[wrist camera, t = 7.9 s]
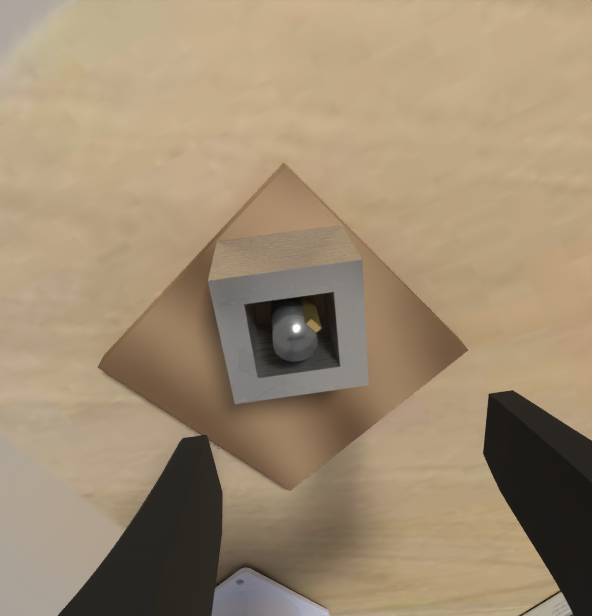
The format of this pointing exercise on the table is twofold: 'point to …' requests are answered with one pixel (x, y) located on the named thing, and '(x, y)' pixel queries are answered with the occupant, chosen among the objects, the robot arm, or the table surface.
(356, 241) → the copper plate
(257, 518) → the table surface
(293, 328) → the shaft stub
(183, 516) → the robot arm
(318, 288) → the grey square sleeve
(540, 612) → the light bulb box
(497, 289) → the table surface
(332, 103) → the table surface
